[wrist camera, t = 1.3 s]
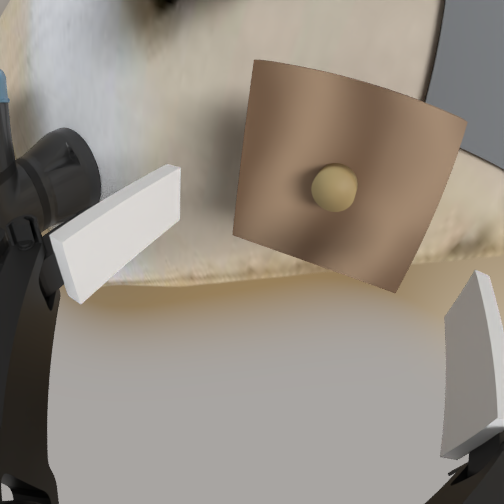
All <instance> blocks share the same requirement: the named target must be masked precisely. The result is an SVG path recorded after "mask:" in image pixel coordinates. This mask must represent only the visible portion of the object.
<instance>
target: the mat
mask: <svg viewBox="0 0 504 504" xmlns="http://www.w3.org/2000/svg"><path fill="white" fill-rule="evenodd" d="M425 103H428V104H431V105H433V106H435V107H438V108H440V109H443V110H445V111H447V112H450V113H452V114H454V115H457V116H459V117H461V118H463V119H464V120H466V121H467V122H468V123H467V126H466V130H465V133H464V136H463V139H462V142H461V145H460V148H462V149H464V150H466V151H468V152H471V153H473V154H475V155H477V156H479V157H481V158H483V159H485V160H487V161H489V162H491V163H493V164H495V165H497V166H499V167H500V168H502V169H504V0H445V4H444V11H443V18H442V24H441V30H440V36H439V41H438V46H437V51H436V56H435V61H434V66H433V70H432V75H431V79H430V83H429V87H428V91H427V95H426V99H425Z"/></svg>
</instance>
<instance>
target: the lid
mask: <svg viewBox="0 0 504 504" xmlns="http://www.w3.org/2000/svg"><path fill="white" fill-rule="evenodd" d="M467 123H468V122H467V121H466V120H464V119H463V118H461V117H459V116H457V115H454V114H452V113H450V112H447V111H445V110H443V109H440V108H438V107H435V106H433V105H431V104H428V103H425V102H423V101H420V100H418V99H415V98H412V97H409V96H407V95H404V94H401V93H398V92H395V91H392V90H389V89H386V88H383V87H380V86H377V85H373V84H370V83H367V82H363V81H360V80H356V79H352V78H349V77H345V76H341V75H337V74H333V73H329V72H324V71H320V70H316V69H311V68H306V67H301V66H296V65H291V64H285V63H279V62H273V61H266V60H254V64H253V71H252V79H251V86H250V94H249V101H248V109H247V117H246V124H245V132H244V140H243V148H242V157H241V165H240V173H239V182H238V190H237V199H236V208H235V217H234V226H233V235H234V236H237V237H240V238H242V239H245V240H248V241H251V242H254V243H257V244H259V245H262V246H265V247H268V248H271V249H274V250H276V251H279V252H282V253H285V254H288V255H290V256H293V257H296V258H299V259H302V260H305V261H307V262H310V263H313V264H316V265H318V266H321V267H324V268H327V269H330V270H332V271H335V272H338V273H341V274H344V275H347V276H349V277H352V278H355V279H358V280H360V281H363V282H366V283H369V284H371V285H374V286H377V287H379V288H382V289H385V290H388V291H391V292H393V293H396V291H397V290H398V288H399V286H400V284H401V282H402V280H403V278H404V276H405V274H406V272H407V271H408V269H409V267H410V265H411V263H412V261H413V259H414V257H415V255H416V253H417V251H418V248H419V246H420V244H421V242H422V240H423V238H424V236H425V234H426V231H427V229H428V227H429V225H430V223H431V220H432V218H433V216H434V213H435V211H436V209H437V206H438V204H439V202H440V199H441V197H442V194H443V192H444V189H445V187H446V184H447V181H448V179H449V176H450V174H451V171H452V168H453V165H454V163H455V160H456V157H457V154H458V151H459V148H460V145H461V142H462V139H463V136H464V133H465V130H466V126H467Z"/></svg>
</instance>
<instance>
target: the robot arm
mask: <svg viewBox="0 0 504 504" xmlns="http://www.w3.org/2000/svg"><path fill="white" fill-rule="evenodd" d="M9 101H10V100H9V98H8V95H7V85H6V76H5V74H4V72H3V71H2V70H1V69H0V504H59V502H58V493H57V485H56V481H55V478H54V475H53V473H52V471H51V469H50V467H49V464H48V455H47V409H48V389H49V375H50V364H51V354H52V346H53V339H54V331H55V325H56V318H57V312H58V307H59V301H60V290H59V288H60V287H61V286H62V285H65V288H66V291H67V294H68V296H69V297H71V298H72V299H74V300H75V301H77V302H78V303H80V304H82V303H83V302H84V301H85V300H86V299H87V298H89V297H90V296H91V295H92V294H93V293H94V292H95V291H96V290H97V289H98V288H100V287H101V286H102V285H103V284H104V283H105V282H106V281H108V280H109V279H110V278H111V277H112V276H113V275H114V274H116V273H117V272H118V271H119V270H120V269H121V268H122V267H124V266H125V265H126V264H127V263H128V262H129V261H131V260H132V259H133V258H134V257H135V256H137V255H138V254H139V253H140V252H141V251H142V250H144V249H145V248H146V247H147V246H148V245H150V244H151V243H152V242H153V241H155V240H156V239H157V238H158V237H159V236H161V235H162V234H163V233H164V232H166V231H167V230H168V229H169V228H170V227H172V226H173V225H174V224H175V223H177V222H178V221H179V220H180V175H181V167H177V166H174V165H170V164H166V165H164V166H162V167H160V168H158V169H156V170H154V171H153V172H151V173H149V174H147V175H145V176H144V177H142V178H140V179H138V180H136V181H135V182H133V183H131V184H129V185H128V186H126V187H124V188H122V189H121V190H119V191H117V192H116V193H114V194H112V195H111V196H109V197H107V198H106V199H104V200H102V201H101V202H99V200H100V193H101V183H100V176H99V171H98V167H97V164H96V161H95V159H94V156H93V154H92V152H91V150H90V148H89V147H88V145H87V144H86V142H85V141H84V140H83V139H82V137H81V136H80V135H79V134H77V133H76V132H75V131H73V130H71V129H68V128H60V129H57V130H55V131H52V132H50V133H48V134H46V135H45V136H44V137H43V138H42V139H40V140H39V141H38V142H37V143H36V144H35V145H34V146H33V147H32V148H31V149H30V150H29V151H28V152H26V153H25V154H24V155H23V156H22V157H21V158H19V159H17V160H15V156H14V150H13V144H12V137H11V128H10V119H9V107H8V102H9ZM61 223H62V224H61ZM57 224H60V225H59V226H57V227H56V228H54V229H53V230H51V231H50V232H48V233H47V234H45V235H44V236H43V237H42V235H41V232H43V231H44V230H46V229H47V228H49V227H50V226H53V225H57ZM444 320H445V340H446V390H445V411H444V425H443V435H442V444H441V452H440V457H444V458H449V459H455V460H458V459H460V458H462V457H463V456H465V455H467V454H468V453H469V461H468V462H467V463H465V464H464V465H462V466H460V467H458V468H456V469H454V470H452V471H451V472H450V473H448V475H449V476H450V475H452V474H454V473H455V474H454V475H453V476H452V477H451V478H450V480H449V481H448V482H447V483H446V484H445V485H444V486H443V487H442V488H441V489H440V490H439V491H438V492H437V493H436V494H435V495H434V496H432V498H430V499H429V500H428V501H427V502H426V503H425V504H504V331H503V327H502V322H501V318H500V314H499V310H498V306H497V302H496V298H495V294H494V291H493V287H492V284H491V280H490V277H489V275H486V274H484V273H482V272H480V271H477V270H475V271H474V272H473V274H472V276H471V277H470V279H469V281H468V282H467V284H466V285H465V287H464V288H463V290H462V292H461V293H460V295H459V296H458V298H457V299H456V301H455V302H454V304H453V305H452V307H451V308H450V310H449V311H448V313H447V314H446V316H445V318H444ZM1 483H3V484H5V485H7V486H8V487H9V488H10V489H11V491H12V494H13V498H14V500H13V501H2V495H1Z"/></svg>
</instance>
